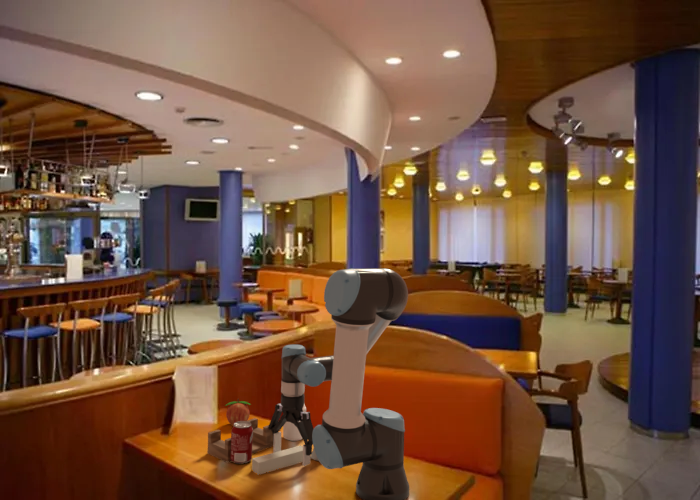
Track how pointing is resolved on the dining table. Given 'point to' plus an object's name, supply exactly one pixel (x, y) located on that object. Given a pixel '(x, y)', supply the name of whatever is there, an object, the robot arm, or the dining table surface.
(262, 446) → the rack
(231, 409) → the fruit
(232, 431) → the soda can
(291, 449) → the white rectangular bar
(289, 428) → the beverage can
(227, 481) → the dining table surface
